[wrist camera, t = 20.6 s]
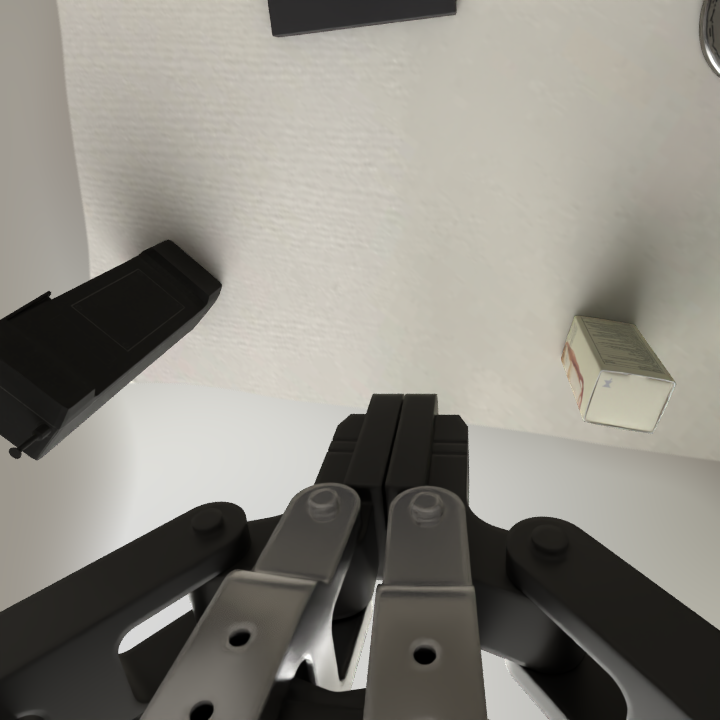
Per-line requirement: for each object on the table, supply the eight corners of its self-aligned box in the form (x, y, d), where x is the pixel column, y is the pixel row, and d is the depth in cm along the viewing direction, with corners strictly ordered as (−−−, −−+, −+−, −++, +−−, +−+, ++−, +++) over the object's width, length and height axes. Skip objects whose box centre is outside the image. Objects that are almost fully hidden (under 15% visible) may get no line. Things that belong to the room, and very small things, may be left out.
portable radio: (124, 275, 53) (-126, 412, 31) (157, 227, 51) (-92, 339, 28) (192, 331, 54) (-2, 501, 32) (227, 287, 52) (41, 439, 30)
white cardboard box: (559, 360, 49) (577, 421, 40) (574, 313, 47) (597, 366, 38) (621, 372, 49) (654, 437, 40) (639, 324, 47) (678, 381, 38)
